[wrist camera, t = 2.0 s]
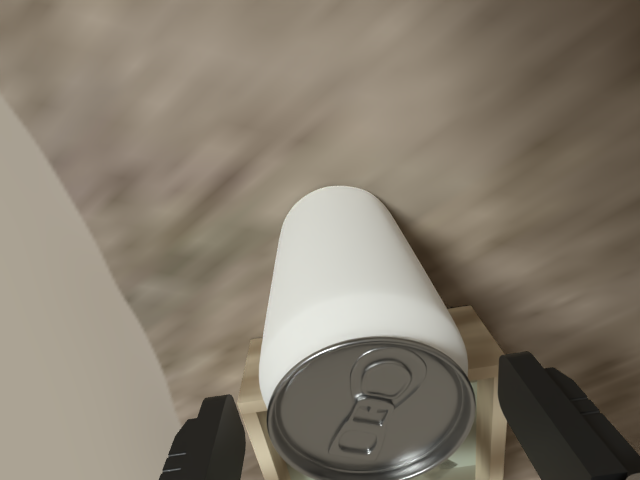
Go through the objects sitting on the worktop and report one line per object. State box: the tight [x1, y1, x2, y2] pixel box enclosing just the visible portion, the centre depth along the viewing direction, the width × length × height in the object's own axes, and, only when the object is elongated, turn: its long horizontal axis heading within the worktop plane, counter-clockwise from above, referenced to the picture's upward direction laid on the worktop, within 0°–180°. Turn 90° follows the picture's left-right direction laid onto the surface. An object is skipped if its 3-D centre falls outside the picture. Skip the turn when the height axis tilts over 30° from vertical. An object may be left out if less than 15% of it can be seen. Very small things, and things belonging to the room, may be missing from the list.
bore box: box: [237, 305, 507, 480], centre depth 24 cm, size 14×14×5 cm
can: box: [259, 186, 476, 480], centre depth 15 cm, size 6×6×12 cm
